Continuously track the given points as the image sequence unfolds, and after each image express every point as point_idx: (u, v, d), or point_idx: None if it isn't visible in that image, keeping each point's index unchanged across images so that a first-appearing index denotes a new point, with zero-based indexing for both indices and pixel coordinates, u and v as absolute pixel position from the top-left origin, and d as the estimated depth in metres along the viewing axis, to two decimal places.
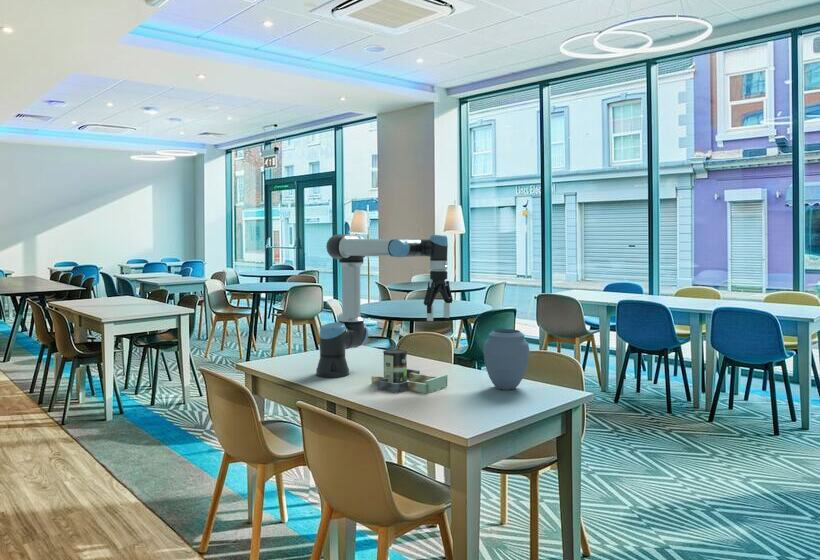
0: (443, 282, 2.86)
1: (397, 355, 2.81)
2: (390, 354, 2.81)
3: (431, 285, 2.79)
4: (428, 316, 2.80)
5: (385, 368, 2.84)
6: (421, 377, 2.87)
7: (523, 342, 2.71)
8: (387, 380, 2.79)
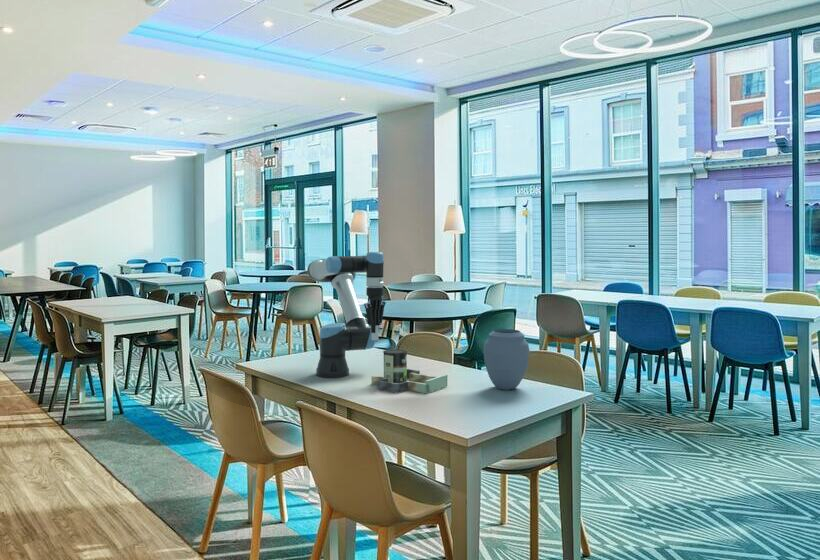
0: (380, 297, 2.92)
1: (397, 355, 2.81)
2: (390, 354, 2.81)
3: (367, 307, 2.86)
4: (372, 335, 2.91)
5: (385, 368, 2.84)
6: (421, 377, 2.87)
7: (523, 342, 2.71)
8: (387, 380, 2.79)
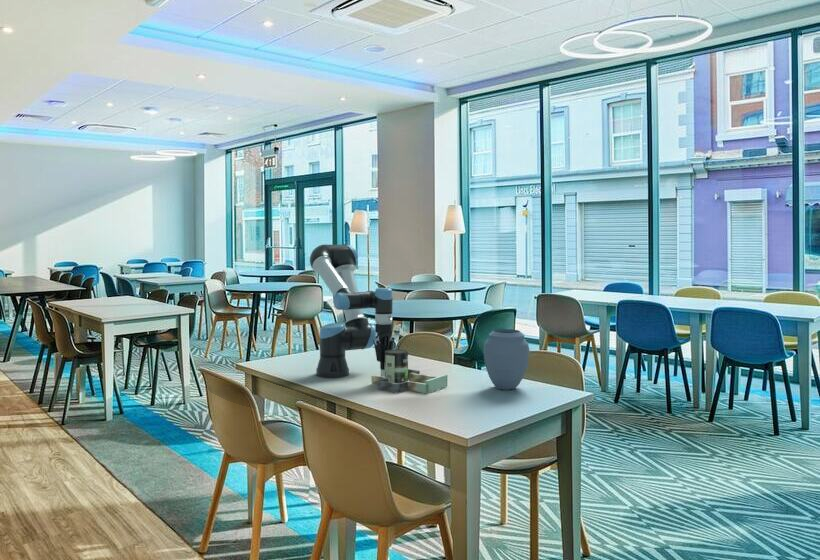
0: (389, 333, 2.90)
1: (398, 355, 2.81)
2: (391, 354, 2.81)
3: (376, 343, 2.84)
4: (381, 372, 2.89)
5: (386, 368, 2.83)
6: (421, 377, 2.87)
7: (523, 342, 2.71)
8: (387, 380, 2.79)
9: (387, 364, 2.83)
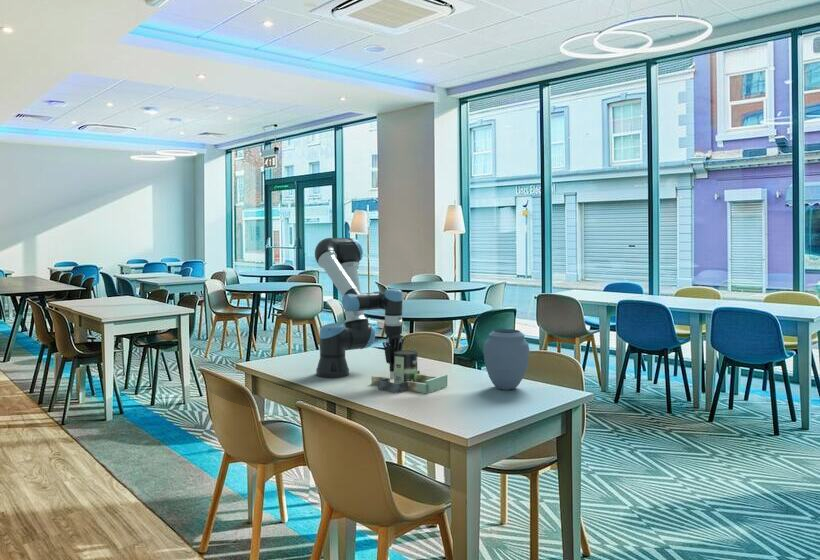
0: (399, 335, 2.88)
1: (408, 356, 2.78)
2: (401, 355, 2.78)
3: (386, 345, 2.81)
4: (390, 374, 2.87)
5: (396, 369, 2.81)
6: (421, 377, 2.87)
7: (523, 342, 2.71)
8: (387, 380, 2.79)
9: (396, 365, 2.80)
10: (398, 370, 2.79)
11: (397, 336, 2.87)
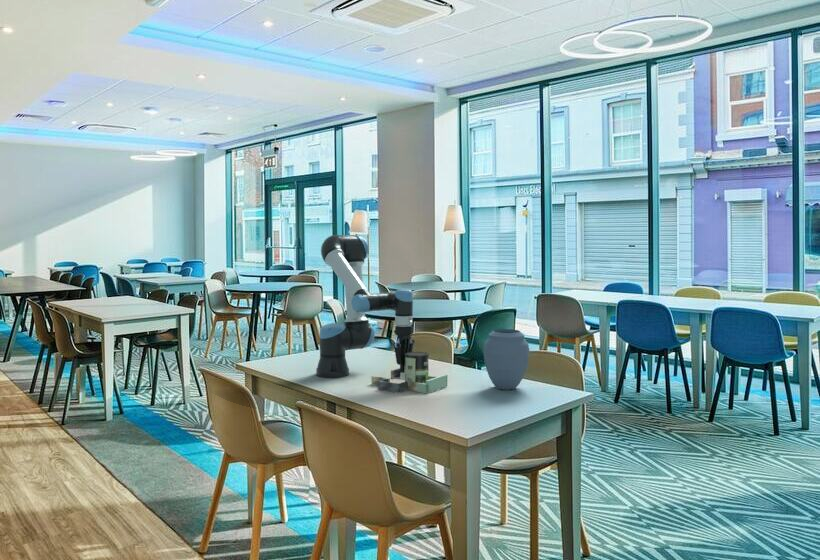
0: (409, 336, 2.84)
1: (419, 357, 2.75)
2: (412, 357, 2.75)
3: (397, 346, 2.78)
4: (401, 375, 2.84)
5: (407, 371, 2.77)
6: None
7: (523, 342, 2.71)
8: (387, 380, 2.79)
9: (407, 367, 2.77)
10: (409, 372, 2.76)
11: (407, 337, 2.83)
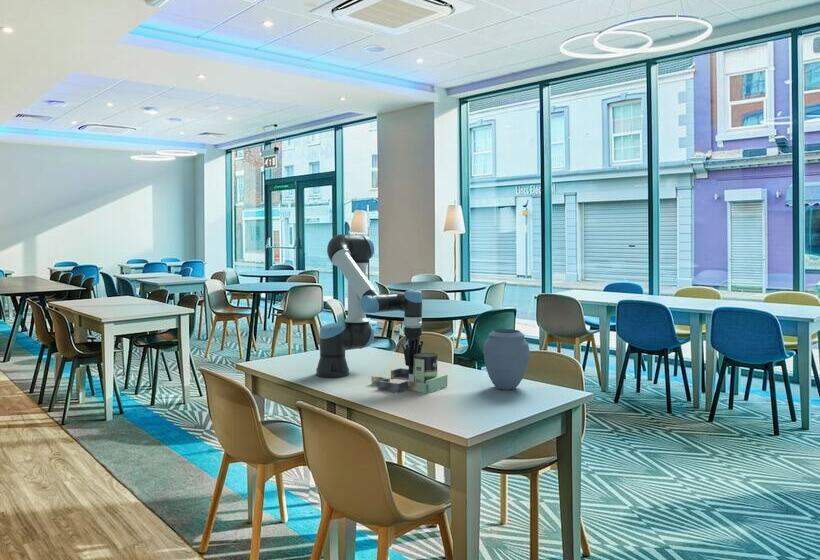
0: (418, 337, 2.82)
1: (428, 359, 2.73)
2: (421, 358, 2.73)
3: (406, 347, 2.75)
4: (409, 376, 2.81)
5: (415, 372, 2.75)
6: None
7: (523, 342, 2.71)
8: (387, 380, 2.79)
9: (416, 368, 2.74)
10: (418, 373, 2.74)
11: (416, 338, 2.81)
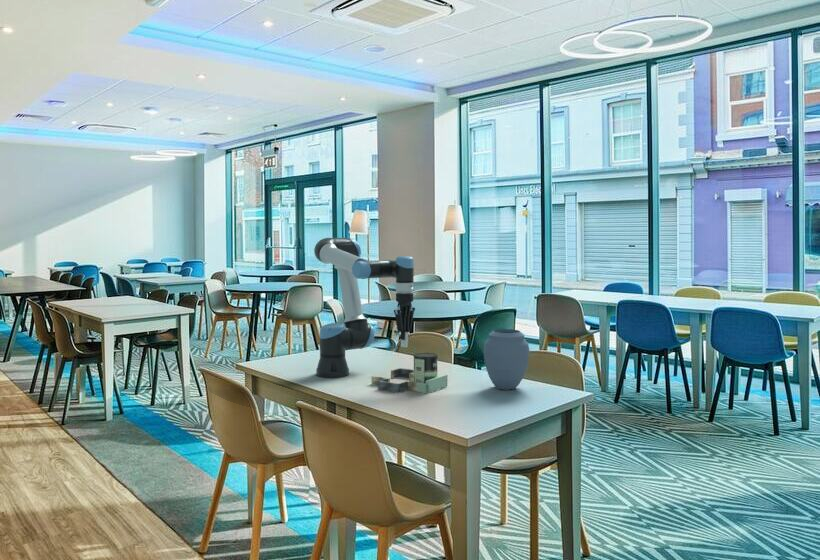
0: (410, 303, 2.83)
1: (428, 359, 2.73)
2: (421, 358, 2.73)
3: (397, 313, 2.77)
4: (401, 342, 2.83)
5: (415, 372, 2.75)
6: None
7: (523, 342, 2.71)
8: (387, 380, 2.79)
9: (416, 368, 2.74)
10: (418, 373, 2.74)
11: (408, 304, 2.82)
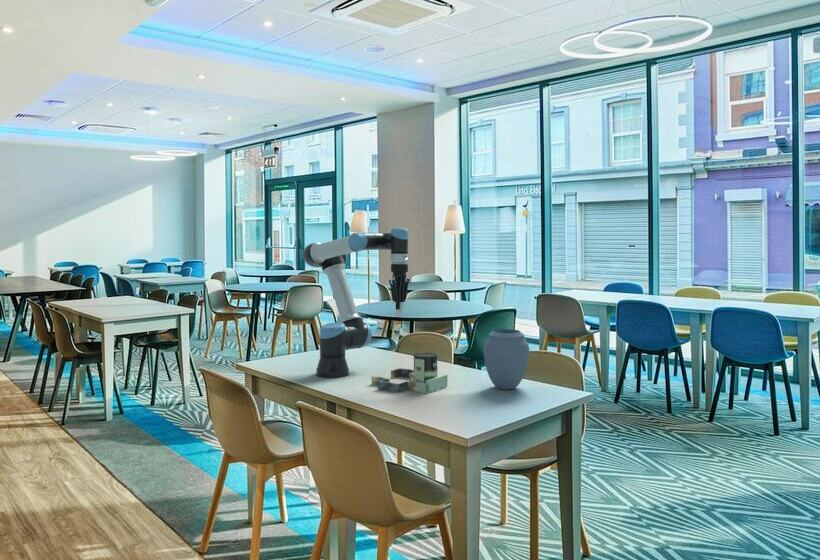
0: (404, 274, 2.91)
1: (428, 359, 2.73)
2: (421, 358, 2.73)
3: (392, 283, 2.85)
4: (396, 312, 2.91)
5: (415, 372, 2.75)
6: None
7: (523, 342, 2.71)
8: (387, 380, 2.79)
9: (416, 368, 2.74)
10: (418, 373, 2.74)
11: (403, 275, 2.90)
